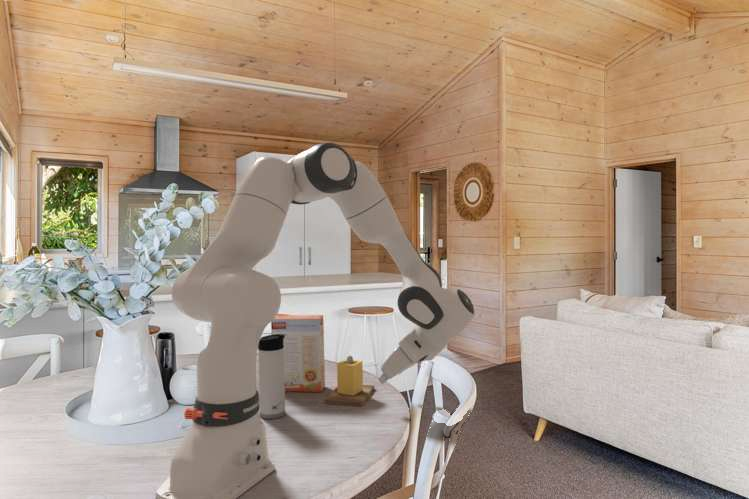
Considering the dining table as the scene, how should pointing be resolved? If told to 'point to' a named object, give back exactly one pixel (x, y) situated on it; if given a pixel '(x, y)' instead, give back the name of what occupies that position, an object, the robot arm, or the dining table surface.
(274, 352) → the travel mug
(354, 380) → the collar
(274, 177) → the robot arm
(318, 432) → the dining table surface
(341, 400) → the post board
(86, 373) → the dining table surface
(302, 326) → the cracker box
